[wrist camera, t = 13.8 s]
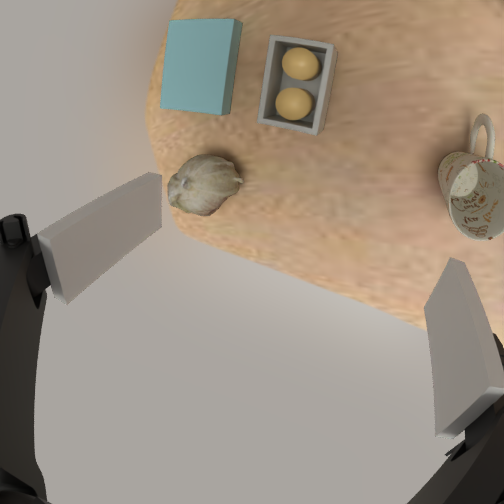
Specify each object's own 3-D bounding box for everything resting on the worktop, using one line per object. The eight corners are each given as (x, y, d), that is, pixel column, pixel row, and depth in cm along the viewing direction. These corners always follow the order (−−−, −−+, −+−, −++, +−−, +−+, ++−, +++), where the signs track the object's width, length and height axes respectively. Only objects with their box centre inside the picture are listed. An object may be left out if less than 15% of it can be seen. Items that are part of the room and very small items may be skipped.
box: (284, 43, 30) (270, 34, 26) (337, 52, 29) (333, 44, 24) (272, 118, 36) (256, 122, 31) (323, 129, 34) (316, 135, 30)
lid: (180, 23, 32) (169, 20, 30) (242, 23, 30) (234, 19, 28) (171, 106, 39) (160, 108, 37) (229, 113, 37) (221, 115, 35)
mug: (424, 200, 34) (440, 234, 26) (436, 102, 28) (461, 105, 20) (479, 211, 32) (506, 247, 23) (494, 118, 25) (532, 129, 17)
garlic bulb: (204, 187, 47) (152, 214, 40) (205, 135, 41) (147, 157, 35) (252, 212, 43) (200, 246, 36) (259, 156, 37) (199, 184, 31)
